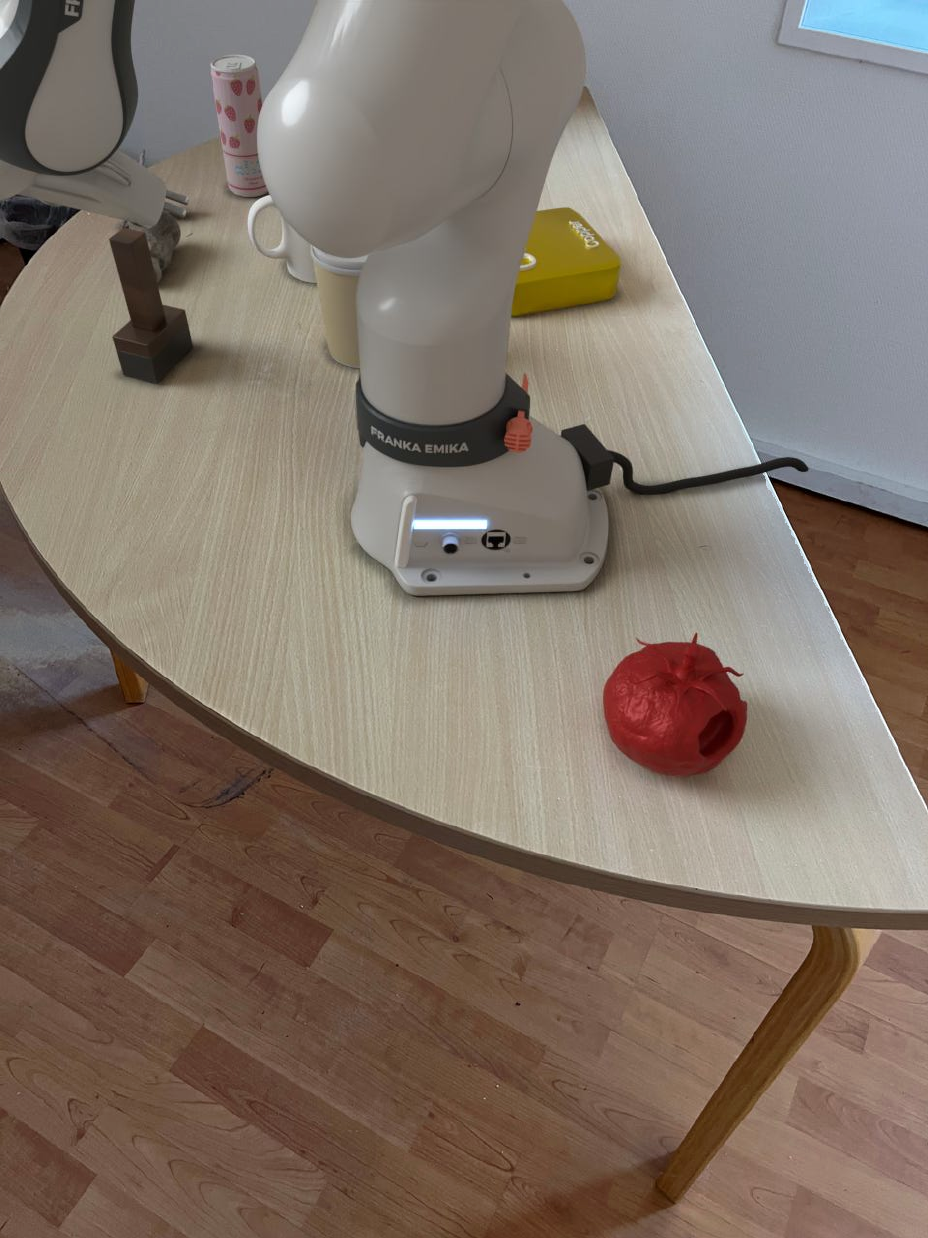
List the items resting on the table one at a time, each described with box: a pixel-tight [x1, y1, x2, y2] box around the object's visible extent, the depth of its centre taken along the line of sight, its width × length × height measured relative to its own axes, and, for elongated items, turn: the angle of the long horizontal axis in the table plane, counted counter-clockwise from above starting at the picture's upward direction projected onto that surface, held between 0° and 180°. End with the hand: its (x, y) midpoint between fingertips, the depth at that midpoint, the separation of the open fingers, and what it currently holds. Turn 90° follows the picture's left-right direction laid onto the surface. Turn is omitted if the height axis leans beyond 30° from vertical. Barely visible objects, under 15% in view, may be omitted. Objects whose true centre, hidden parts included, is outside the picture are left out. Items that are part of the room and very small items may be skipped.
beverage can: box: [210, 54, 269, 198], centre depth 116 cm, size 6×6×15 cm
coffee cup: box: [311, 245, 369, 370], centre depth 94 cm, size 9×9×12 cm
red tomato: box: [602, 632, 748, 777], centre depth 64 cm, size 10×10×9 cm
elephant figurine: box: [121, 148, 190, 229], centre depth 114 cm, size 10×6×9 cm
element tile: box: [511, 206, 622, 317], centre depth 107 cm, size 15×15×5 cm
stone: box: [128, 210, 182, 284], centre depth 107 cm, size 10×5×8 cm
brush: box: [108, 227, 194, 385], centre depth 91 cm, size 7×4×14 cm, turn 160°
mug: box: [247, 194, 317, 284], centre depth 105 cm, size 12×8×10 cm
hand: (101, 207), depth 81 cm, fingers open, 8 cm apart
